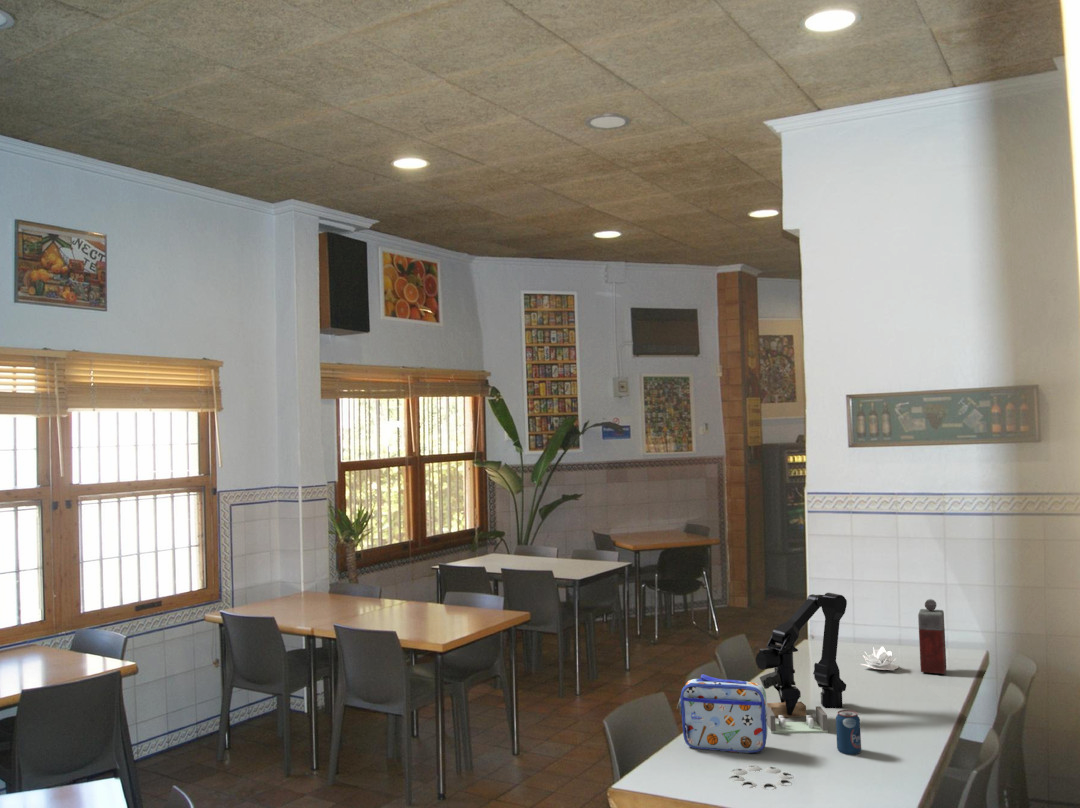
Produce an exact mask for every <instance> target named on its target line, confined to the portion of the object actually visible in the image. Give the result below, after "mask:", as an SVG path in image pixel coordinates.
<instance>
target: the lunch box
mask: <svg viewBox="0 0 1080 808" xmlns="http://www.w3.org/2000/svg"><path fill="white" fill-rule="evenodd" d="M680 692H681V693H680V697H679V699H678V700H679V701H678V703H677V706H676V709H677V710H678V709H679V715H681V723H682V734H683V739H684V742H685V744H686V745H687V747H690V748H692V749H695V748H697V749H696V750H699V749H700V750H706V749H709V751H716V750H720V751H719V752H725V751H730V752H729V753H738V752H739V753H742V754H743V753H745V754H747V753H748V754H752V753H760V752H761V751H763V750H764V749H765V747H766V744H767V738H768V727H767V726H768V719H767V703H768V702H767V692H766V689H764V687H763V685H762V684H759V683H757V682H751V681H747V680H745V681H744V680H737V679H723V678H716V677H712V676H710V675H707V674H703V673H702V674H701V675H700V678H693V679H689V680H688V681H687V682H686V683H685V685H684V686H683V688H682V689H681V691H680Z"/></svg>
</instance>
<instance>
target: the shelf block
mask: <svg viewBox="0 0 1080 808" xmlns="http://www.w3.org/2000/svg"><path fill="white" fill-rule="evenodd" d="M767 707H770V708H771V710H772V712H773V713H774V715H775V719H776V718H779V715H783V716H784V718H793V717H806V715H807V705H806V704H805V703H804V702H802V701H797V703H796V706H795V708H794V710H793V713H792V715H791V716H788V714H787V709H786V704H785V702H781V701H780V702H767Z"/></svg>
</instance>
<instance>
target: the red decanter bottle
mask: <svg viewBox="0 0 1080 808" xmlns="http://www.w3.org/2000/svg"><path fill="white" fill-rule="evenodd" d="M924 607H925V608H920V609H919V612H918V613H917V614H918V615H917V618H918V622H917V623H918V639H919V640H918V643H919V659H920V660H919V661H920V662H919V664H920V666H919V667H920V673H931V674H941V675H943V674H945V675H946V673H947V654H946V653H947V652H946V650H947V649H946V634H945V633H946V631H945V630H946V629H945V612H944V610H943V609H936V608H937V602H936V601H935V600H934V599H932V598H929V599H926V600H925V602H924Z"/></svg>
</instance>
